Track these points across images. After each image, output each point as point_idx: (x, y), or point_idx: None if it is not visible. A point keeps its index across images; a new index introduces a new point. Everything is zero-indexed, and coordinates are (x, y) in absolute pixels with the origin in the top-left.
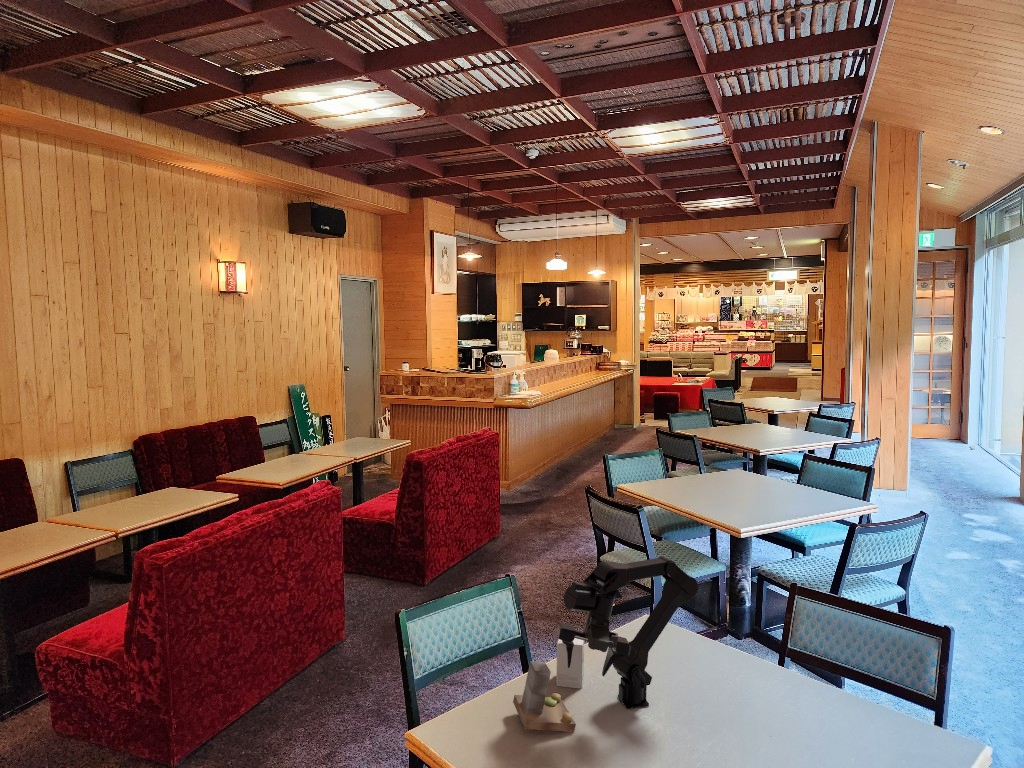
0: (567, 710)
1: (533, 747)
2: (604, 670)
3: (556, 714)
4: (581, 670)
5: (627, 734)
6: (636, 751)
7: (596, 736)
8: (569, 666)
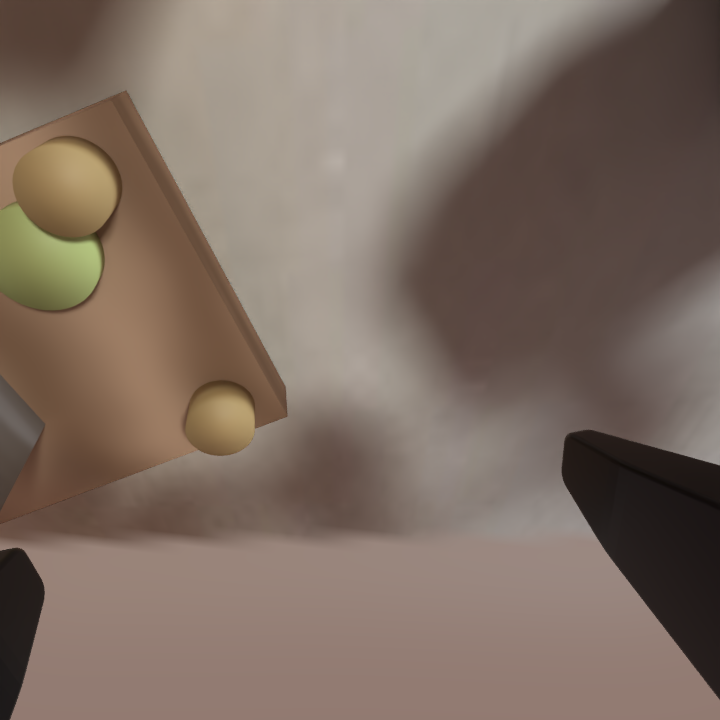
0: (210, 287)
1: (103, 487)
2: (615, 561)
3: (142, 377)
4: None
5: (603, 393)
6: None
7: (413, 414)
8: (32, 619)
